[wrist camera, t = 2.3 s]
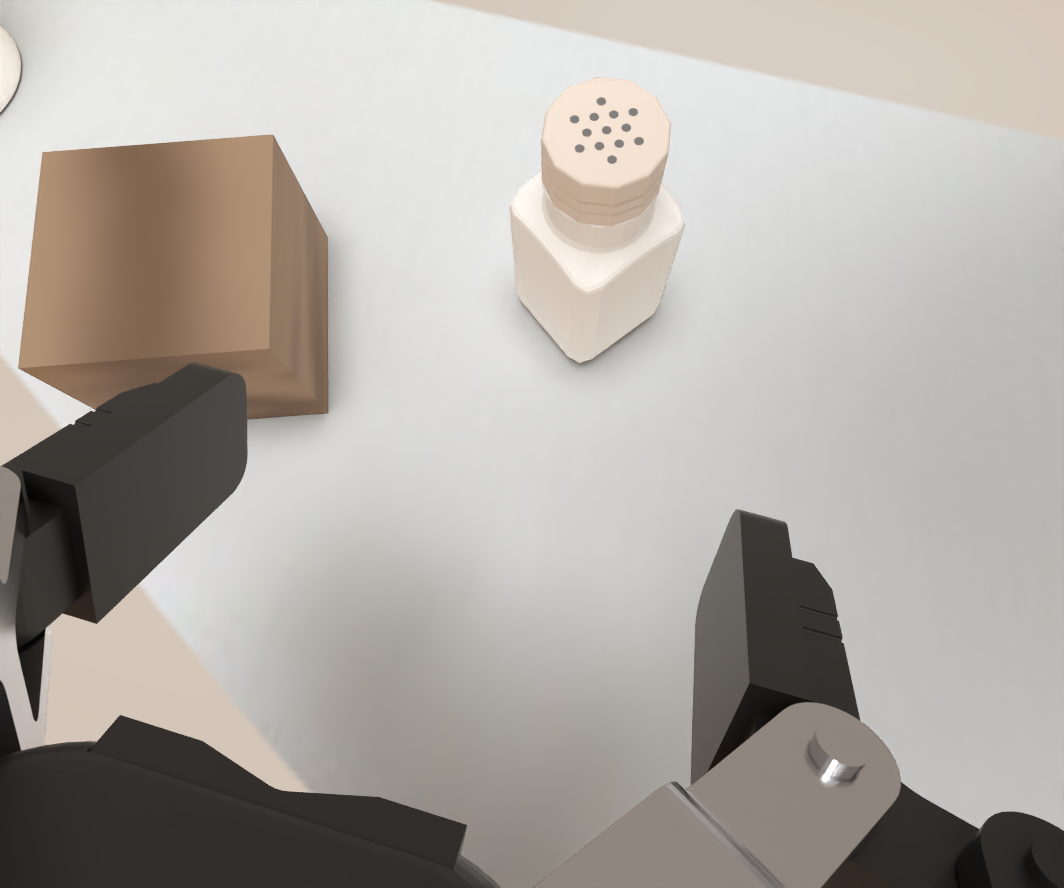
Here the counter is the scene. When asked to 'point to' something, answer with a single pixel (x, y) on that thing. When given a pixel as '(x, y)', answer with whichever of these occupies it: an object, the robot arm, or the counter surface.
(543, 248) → the pepper shaker
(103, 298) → the walnut block
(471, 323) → the counter surface
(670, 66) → the counter surface
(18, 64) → the beer glass
